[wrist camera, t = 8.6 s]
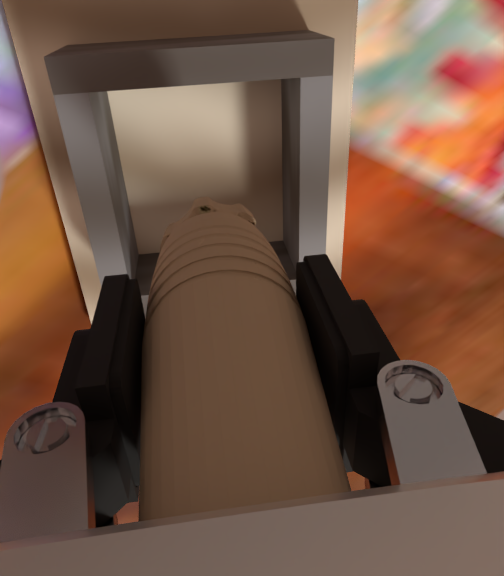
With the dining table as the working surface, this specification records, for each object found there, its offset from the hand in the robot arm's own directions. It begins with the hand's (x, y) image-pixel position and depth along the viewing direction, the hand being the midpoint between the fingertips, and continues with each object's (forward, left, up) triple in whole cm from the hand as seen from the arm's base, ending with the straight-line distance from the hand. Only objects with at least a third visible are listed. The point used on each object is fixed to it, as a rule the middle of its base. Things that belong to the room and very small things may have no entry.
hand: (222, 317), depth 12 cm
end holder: (0, 0, -13) cm, 13 cm away
